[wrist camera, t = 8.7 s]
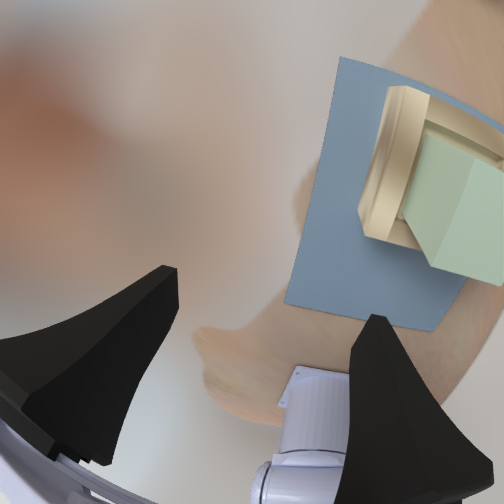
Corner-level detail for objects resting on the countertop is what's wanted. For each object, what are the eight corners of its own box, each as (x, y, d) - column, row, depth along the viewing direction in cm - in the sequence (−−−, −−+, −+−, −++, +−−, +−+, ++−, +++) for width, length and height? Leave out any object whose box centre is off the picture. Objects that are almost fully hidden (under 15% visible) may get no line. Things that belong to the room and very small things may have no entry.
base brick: (455, 238, 16) (475, 267, 13) (357, 208, 17) (364, 235, 14) (492, 134, 12) (523, 147, 9) (388, 86, 13) (406, 85, 10)
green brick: (463, 233, 13) (501, 286, 9) (401, 212, 13) (430, 266, 9) (490, 163, 10) (543, 198, 6) (426, 133, 11) (474, 157, 7)
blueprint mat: (431, 328, 21) (432, 332, 21) (284, 299, 23) (283, 303, 22) (519, 138, 11) (522, 139, 11) (339, 57, 13) (340, 56, 12)
